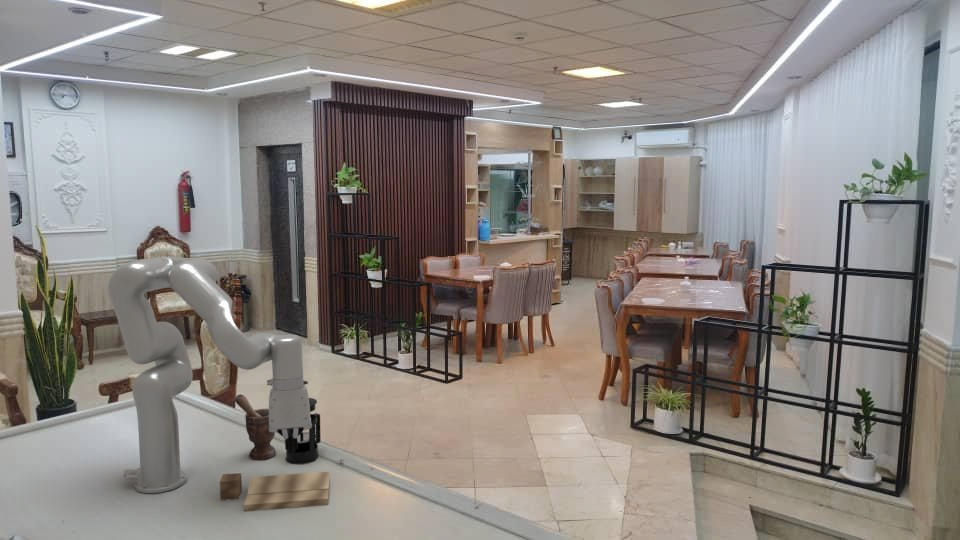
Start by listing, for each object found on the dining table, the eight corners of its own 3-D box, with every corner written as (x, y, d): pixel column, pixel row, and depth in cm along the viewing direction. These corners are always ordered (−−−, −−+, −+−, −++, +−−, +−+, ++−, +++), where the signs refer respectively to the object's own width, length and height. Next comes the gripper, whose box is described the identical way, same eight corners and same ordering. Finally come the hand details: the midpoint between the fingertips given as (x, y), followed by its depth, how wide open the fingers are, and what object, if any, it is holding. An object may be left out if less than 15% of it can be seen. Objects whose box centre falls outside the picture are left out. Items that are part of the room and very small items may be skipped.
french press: (298, 467, 188) (296, 388, 185) (276, 459, 193) (274, 383, 190) (329, 454, 197) (328, 379, 195) (308, 447, 203) (306, 374, 200)
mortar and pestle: (256, 467, 188) (254, 398, 185) (232, 462, 191) (230, 395, 189) (283, 452, 198) (281, 388, 196) (260, 448, 202) (258, 384, 199)
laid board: (244, 511, 162) (243, 504, 162) (247, 500, 167) (247, 494, 167) (328, 504, 166) (327, 498, 165) (328, 494, 171) (328, 488, 171)
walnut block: (220, 500, 167) (219, 481, 167) (223, 492, 172) (223, 474, 171) (239, 499, 168) (238, 480, 168) (241, 491, 173) (241, 472, 172)
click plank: (247, 499, 168) (247, 494, 167) (251, 481, 174) (251, 476, 174) (328, 493, 172) (328, 488, 171) (329, 476, 178) (329, 471, 177)
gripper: (256, 389, 165) (259, 460, 167) (317, 385, 168) (320, 454, 170) (259, 381, 173) (263, 449, 175) (318, 377, 175) (321, 444, 177)
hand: (291, 451), depth 172 cm, fingers closed
